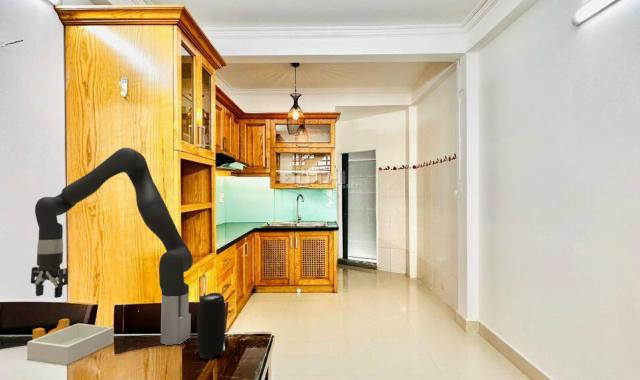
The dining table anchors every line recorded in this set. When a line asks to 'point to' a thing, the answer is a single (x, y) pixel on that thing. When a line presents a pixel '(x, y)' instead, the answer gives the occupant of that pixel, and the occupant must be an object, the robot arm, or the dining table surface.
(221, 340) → the portable speaker
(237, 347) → the dining table surface
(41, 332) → the pipe clamp
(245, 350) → the dining table surface
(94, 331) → the walled box
